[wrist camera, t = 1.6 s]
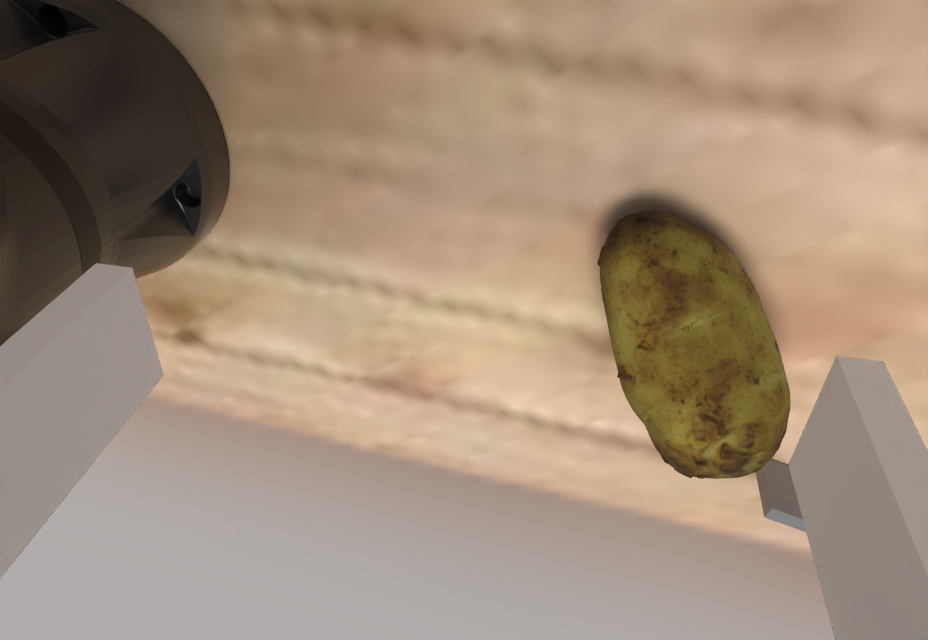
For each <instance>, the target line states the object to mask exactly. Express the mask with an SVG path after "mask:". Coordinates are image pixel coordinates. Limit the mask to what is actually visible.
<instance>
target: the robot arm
mask: <svg viewBox="0 0 928 640" xmlns="http://www.w3.org/2000/svg"><path fill="white" fill-rule="evenodd" d="M228 180H229V166H228V155H227V149H226V144H225V140H224V136H223V132H222V129H221V126H220V123H219V120H218V118H217V115H216V113H215V110H214V108H213V106H212V104H211V102H210V100H209V98H208V96H207V94H206V92H205V90H204V89H203V87H202V85H201V83H200V82H199V80H198V79H197V77H196V76H195V74H194V73H193V71H192V70H191V69H190V67H189V66H188V65H187V63H186V62H185V61H184V59H183V58H182V57H181V56H180V55H179V53H178V52H177V51H176V50H175V49H174V48H173V47H172V46H171V45H170V43H169V42H168V41H167V40H166V39H165V38H164V37H162V36H161V35H160V34H159V33H158V32H157V31H156V30H155V29H154V28H153V27H151V26H150V25H149V24H148V23H147V22H145V21H144V20H143V19H141V18H140V17H139V16H137V15H136V14H135V13H133V12H132V11H130V10H129V9H127V8H126V7H124V6H122V5H121V4H119V3H117V2H115V1H114V0H0V578H1V577H2V576H3V575H4V573H5V572H6V571H7V570H8V568H9V567H10V566H11V565H12V564H13V562H14V561H15V560H16V558H17V557H18V556H19V555H20V554H21V552H22V551H23V550H24V548H25V547H26V546H27V545H28V543H29V542H30V541H31V540H32V539H33V537H34V536H35V535H36V534H37V532H38V531H39V530H40V529H41V527H42V526H43V525H44V524H45V522H46V521H47V520H48V519H49V517H50V516H51V515H52V514H53V512H54V511H55V510H56V509H57V507H58V506H59V505H60V504H61V502H62V501H63V500H64V499H65V497H66V496H67V495H68V494H69V492H70V491H71V490H72V489H73V487H74V486H75V485H76V484H77V482H78V481H79V480H80V478H81V477H82V476H83V475H84V474H85V472H86V471H87V470H88V469H89V467H90V466H91V465H92V464H93V462H94V461H95V460H96V459H97V457H98V456H99V455H100V454H101V452H102V451H103V450H104V449H105V447H106V446H107V445H108V444H109V442H110V441H111V440H112V439H113V437H114V436H115V435H116V434H117V433H118V431H119V430H120V429H121V427H122V426H123V425H124V424H125V423H126V421H127V420H128V419H129V418H130V416H131V415H132V414H133V413H134V411H135V410H136V409H137V407H138V406H139V405H140V404H141V403H142V401H143V400H144V399H145V398H146V396H147V395H148V394H149V393H150V391H151V390H152V389H153V388H154V386H155V385H156V384H157V383H158V381H159V380H160V379H161V378H162V376H163V372H162V368H161V365H160V361H159V358H158V354H157V351H156V348H155V344H154V341H153V337H152V334H151V330H150V327H149V324H148V320H147V317H146V313H145V310H144V306H143V303H142V299H141V296H140V293H139V289H138V286H137V282H136V279H137V278H139V277H142V276H145V275H148V274H151V273H154V272H157V271H160V270H162V269H164V268H166V267H168V266H170V265H172V264H173V263H175V262H177V261H178V260H179V259H181V258H182V257H184V256H185V255H186V254H187V253H188V252H189V251H190V250H191V249H192V248H193V247H194V246H196V245H197V244H198V243H199V242H200V241H201V240H202V239H203V238H204V237H205V236H206V235H207V234H208V233H209V231H210V230H211V229H212V228H213V226H214V225H215V223H216V222H217V220H218V218H219V216H220V214H221V212H222V209H223V206H224V203H225V200H226V196H227V190H228ZM788 466H789V470H790V473H791V477H792V481H793V484H794V488H795V492H796V496H797V499H798V503H799V507H800V510H801V514H802V518H803V522H804V525H805V529H806V533H807V536H808V540H809V544H810V548H811V551H812V555H813V559H814V562H815V566H816V569H817V574H818V577H819V581H820V584H821V588H822V592H823V596H824V600H825V603H826V607H827V611H828V614H829V618H830V622H831V625H832V629H833V633H834V637H835V640H928V451H927V449H926V447H925V445H924V443H923V441H922V439H921V437H920V435H919V433H918V431H917V429H916V427H915V425H914V422H913V420H912V418H911V416H910V414H909V412H908V410H907V408H906V406H905V404H904V402H903V400H902V398H901V396H900V394H899V392H898V390H897V388H896V386H895V384H894V382H893V380H892V378H891V376H890V374H889V372H888V370H887V368H886V366H885V364H884V362H883V361H875V360H867V359H859V358H851V357H843V356H836V358H835V360H834V363H833V365H832V367H831V370H830V372H829V374H828V376H827V379H826V381H825V383H824V385H823V388H822V390H821V392H820V394H819V397H818V399H817V401H816V403H815V406H814V408H813V410H812V412H811V415H810V417H809V419H808V421H807V424H806V426H805V428H804V431H803V433H802V435H801V437H800V440H799V442H798V444H797V446H796V449H795V451H794V453H793V455H792V458H791V460H790V462H789V464H788Z"/></svg>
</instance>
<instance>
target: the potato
mask: <svg viewBox="0 0 928 640" xmlns="http://www.w3.org/2000/svg"><path fill="white" fill-rule="evenodd" d="M598 265H599V266H600V280H601V291H602V297H603V302H604V306H605V312H606V317H607V322H608V328H609V333H610V338H611V342H612V347H613V352H614V356H615V361H616V365H617V369H618V376H617V377H619V378H620V382H621V386H622V389H623V391H624V394H625V396H626V398H627V400H628V402H629V404H630V406H631V407H632V409H633V411H634V412H635V413H636V415H637V416H638V417H639V419H640V420H641V421H642V422H643V423H644V425H645V426H646V429H647V431H648V433H649V436H650V438H651V440H652V442H653V444H654V446H655V448H656V449H657V451H658V452H659V453H660V455H661V456H662V458H663V460H664V462H665V463H668V464H669V465H671V466H672V467H673V468H674V470H676V471H677V472H679V473H681V474H682V475H684V476H687V477H689V478H691V477H698V478H701V479H703V478H715V479H719V478H737V477H742V476H746V475H748V474H751V473H753V472H756V471H758V470H760V469H761V468H762V467H763V466H764V465H765V464H766V463H767V462H768V461H769V460H770V459H771V458H772V457H773V456H774V455H775V453H776V451H777V450H778V449H779V447H780V444H781V442H782V439H783V437H784V435H785V433H786V429H787V423H788V417H789V412H790V391H789V385H788V382H787V378H786V374H785V370H784V366H783V363H782V359H781V355H780V352H779V348H778V345H777V342H776V340H775V337H774V334H773V332H772V330H771V328H770V325H769V323H768V321H767V318H766V316H765V314H764V311H763V308H762V305H761V302H760V299H759V296H758V294H757V292H756V290H755V288H754V286H753V284H752V282H751V281H750V279H749V277H748V276H747V274H746V272H745V271H744V269H743V268H742V266H741V265H740V263H739V262H738V260H737V259H736V258H735V257H734V255H733V254H732V253H731V252H730V251H729V250H728V249H727V248H726V247H725V246H724V245H723V244H722V243H721V242H720V241H718V240H717V239H716V238H714V237H713V236H712V235H710V234H709V233H707V232H706V231H704V230H702V229H700V228H698V227H696V226H694V225H692V224H690V223H688V222H686V221H684V220H682V219H681V218H679V217H677V216H674V215H672V214H669V213H667V212H662V211H656V210H654V211H648V212H642V213H636V214H632V215H628V216H626V217H624V218H622V219H620V220H619V221H618V222H617V224H616V225H615V226H614V228H613V229H612V230H611V232H610V234H609V236H608V238H607V240H606V242H605V245H604V246H603V247H602V249H601V252H600V257H599V260H598Z"/></svg>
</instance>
